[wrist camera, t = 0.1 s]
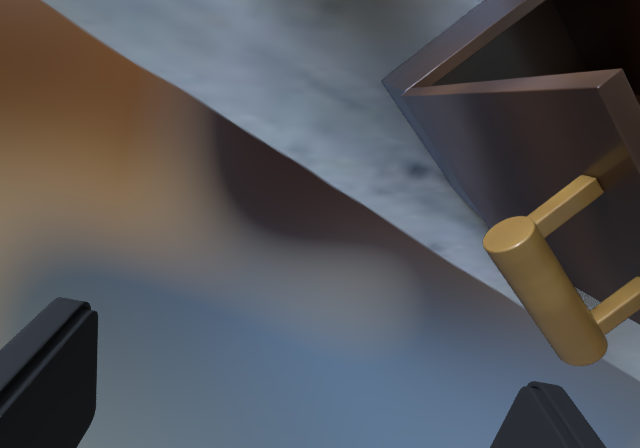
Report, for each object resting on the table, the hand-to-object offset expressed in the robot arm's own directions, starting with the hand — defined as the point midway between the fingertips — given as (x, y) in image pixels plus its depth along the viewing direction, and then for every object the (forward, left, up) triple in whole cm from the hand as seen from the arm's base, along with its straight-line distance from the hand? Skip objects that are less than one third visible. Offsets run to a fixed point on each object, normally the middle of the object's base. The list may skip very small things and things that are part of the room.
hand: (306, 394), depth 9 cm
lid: (-9, +6, -12) cm, 16 cm away
